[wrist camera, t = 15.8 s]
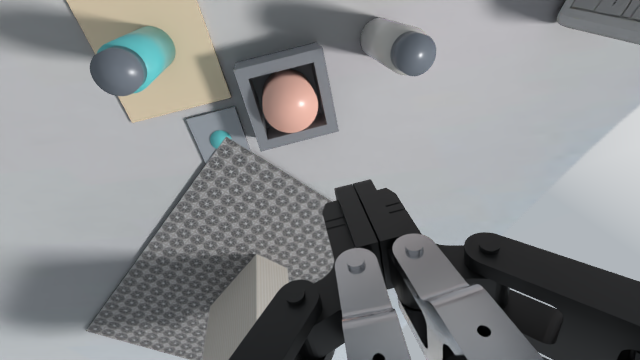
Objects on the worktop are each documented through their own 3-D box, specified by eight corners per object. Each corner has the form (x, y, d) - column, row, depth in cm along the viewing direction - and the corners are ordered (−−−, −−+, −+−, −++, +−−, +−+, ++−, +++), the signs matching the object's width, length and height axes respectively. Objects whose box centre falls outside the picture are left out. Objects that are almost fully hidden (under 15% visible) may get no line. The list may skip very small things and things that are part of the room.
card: (186, 118, 34) (185, 119, 33) (234, 106, 34) (234, 107, 33) (209, 169, 37) (208, 170, 36) (253, 157, 37) (252, 159, 37)
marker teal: (124, 29, 29) (73, 50, 21) (166, 22, 29) (131, 40, 21) (142, 71, 31) (101, 104, 23) (181, 65, 31) (153, 95, 23)
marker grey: (356, 24, 32) (390, 38, 24) (392, 12, 32) (438, 22, 24) (364, 62, 34) (397, 86, 26) (397, 50, 34) (441, 71, 26)
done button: (255, 76, 32) (255, 86, 29) (306, 63, 32) (311, 72, 29) (270, 123, 35) (271, 138, 31) (316, 111, 35) (323, 125, 31)
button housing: (235, 62, 32) (233, 70, 29) (316, 42, 32) (322, 47, 29) (260, 137, 36) (260, 151, 33) (332, 119, 36) (338, 131, 33)
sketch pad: (59, -16, 27) (58, -16, 27) (180, -45, 27) (180, -45, 27) (133, 121, 33) (132, 123, 33) (231, 96, 33) (231, 97, 33)
